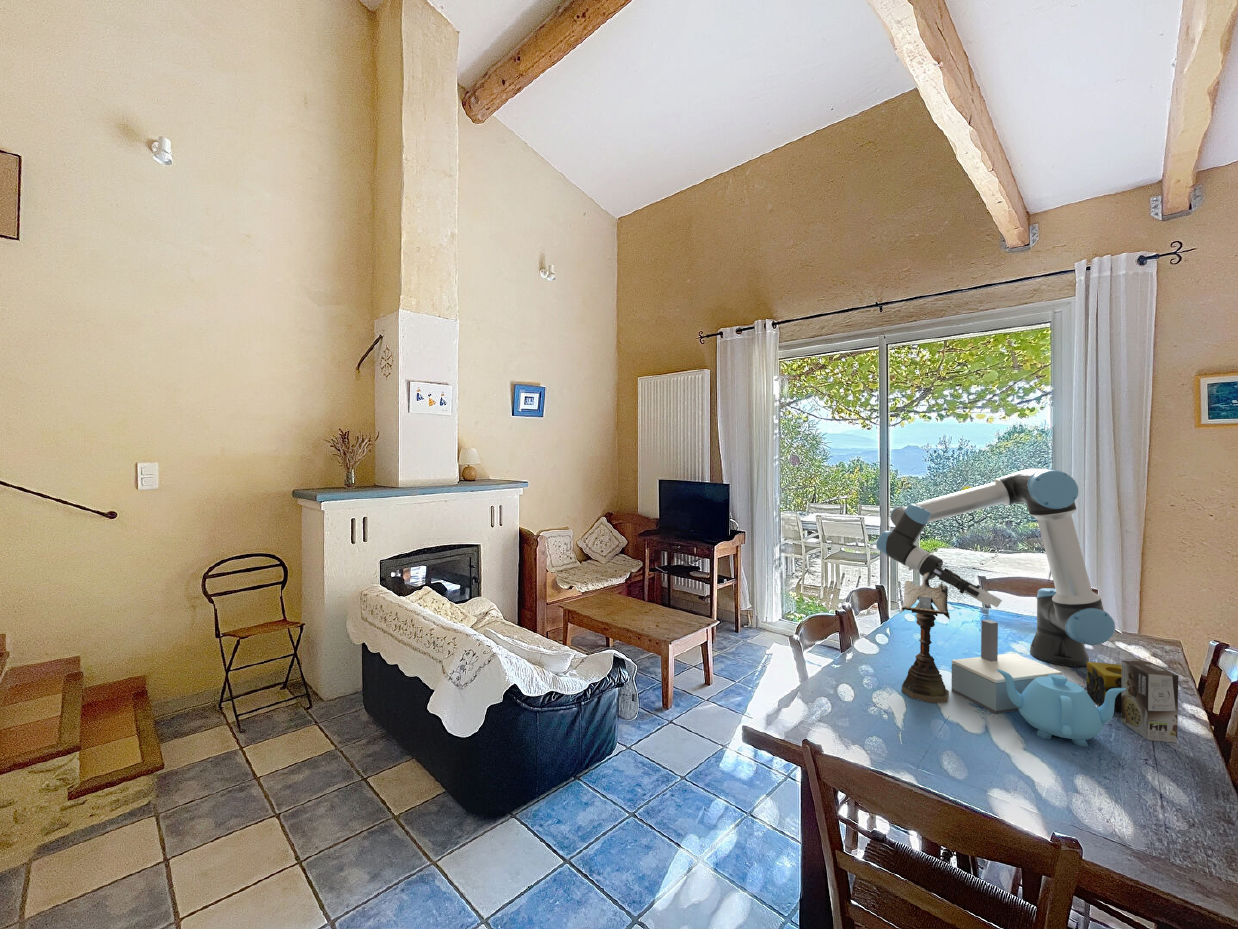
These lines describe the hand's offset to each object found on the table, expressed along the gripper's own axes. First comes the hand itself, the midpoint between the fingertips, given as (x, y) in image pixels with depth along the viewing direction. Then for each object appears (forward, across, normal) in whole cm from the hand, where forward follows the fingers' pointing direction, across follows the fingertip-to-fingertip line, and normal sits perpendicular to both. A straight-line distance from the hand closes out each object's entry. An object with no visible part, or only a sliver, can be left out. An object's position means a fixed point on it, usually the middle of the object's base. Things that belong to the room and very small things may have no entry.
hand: (995, 603), depth 157 cm
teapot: (+27, +15, -20) cm, 37 cm away
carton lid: (+11, +4, -14) cm, 19 cm away
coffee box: (+40, 0, -10) cm, 41 cm away
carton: (+14, +2, -22) cm, 26 cm away
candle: (+33, -13, -9) cm, 37 cm away
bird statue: (+2, +17, -32) cm, 36 cm away
